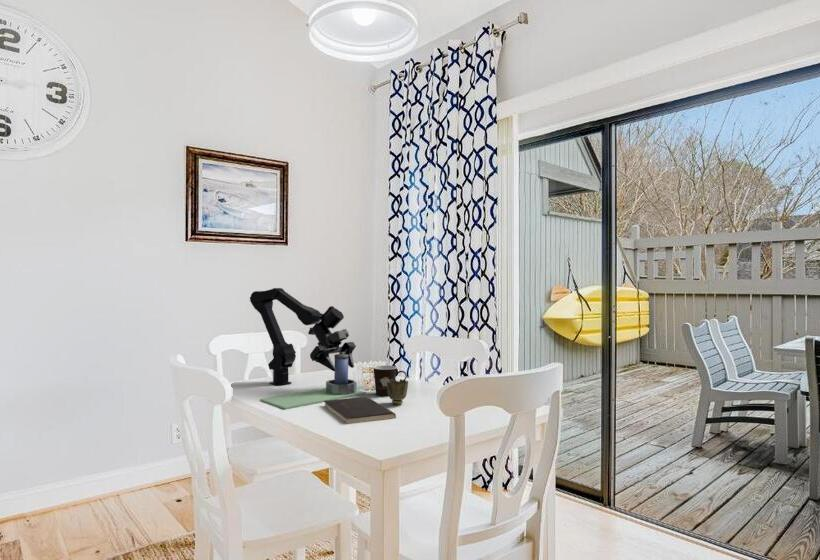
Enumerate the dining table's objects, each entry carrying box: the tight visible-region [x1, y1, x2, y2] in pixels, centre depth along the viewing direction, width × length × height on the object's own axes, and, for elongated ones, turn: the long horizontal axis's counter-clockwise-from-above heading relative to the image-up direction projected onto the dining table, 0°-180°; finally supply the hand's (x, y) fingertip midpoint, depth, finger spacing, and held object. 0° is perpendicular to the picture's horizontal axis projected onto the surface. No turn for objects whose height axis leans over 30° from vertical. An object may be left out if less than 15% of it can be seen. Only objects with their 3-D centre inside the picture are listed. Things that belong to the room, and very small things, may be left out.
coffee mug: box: [373, 364, 408, 398], centre depth 192 cm, size 12×9×10 cm
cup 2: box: [387, 378, 409, 406], centre depth 178 cm, size 8×7×8 cm
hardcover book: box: [323, 396, 397, 424], centre depth 168 cm, size 16×23×2 cm
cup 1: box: [325, 378, 358, 395], centre depth 194 cm, size 11×11×4 cm
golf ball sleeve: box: [333, 353, 349, 385], centre depth 194 cm, size 5×5×13 cm
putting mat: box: [259, 387, 367, 410], centre depth 187 cm, size 16×34×1 cm, turn 135°
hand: (343, 368), depth 193 cm, fingers open, 9 cm apart
